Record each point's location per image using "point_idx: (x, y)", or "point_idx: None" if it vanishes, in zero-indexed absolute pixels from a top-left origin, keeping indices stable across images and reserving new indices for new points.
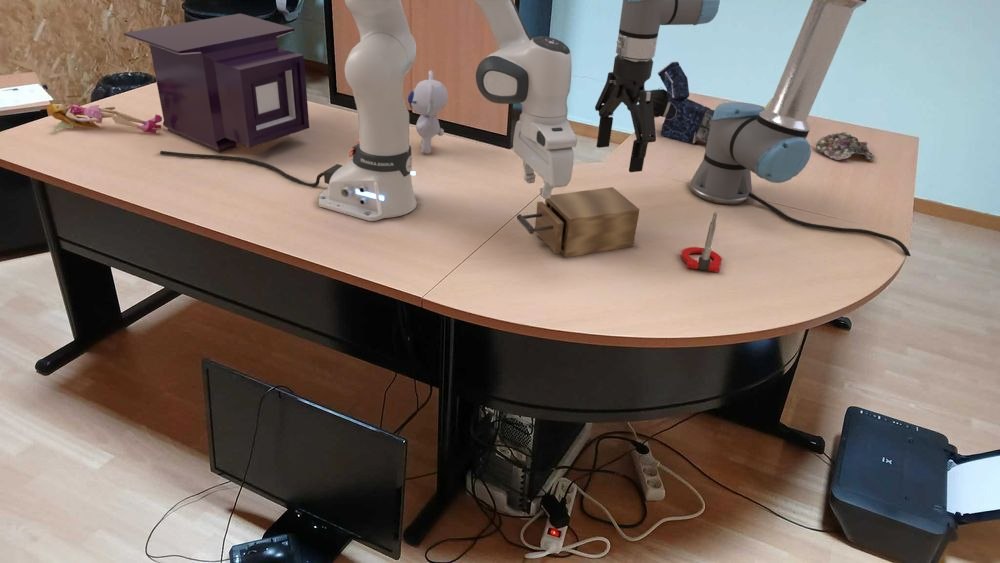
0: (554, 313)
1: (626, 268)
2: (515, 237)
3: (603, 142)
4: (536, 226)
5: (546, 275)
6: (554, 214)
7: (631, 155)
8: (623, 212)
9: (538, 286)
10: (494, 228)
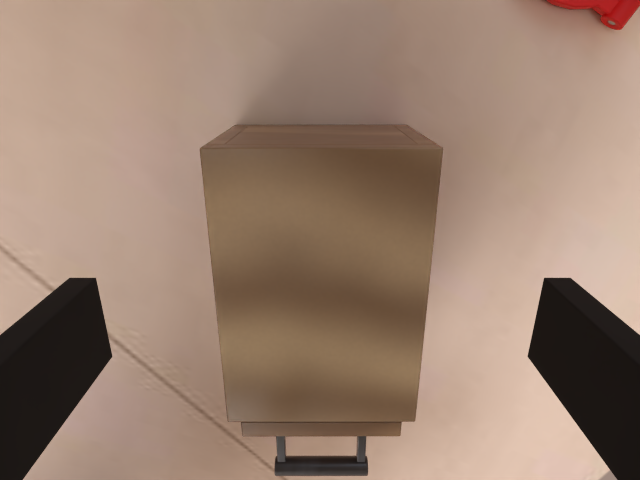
0: (584, 443)
1: (507, 214)
2: None
3: (86, 345)
4: None
5: (449, 404)
6: (340, 424)
7: (594, 444)
8: (434, 225)
9: (482, 433)
10: (202, 427)
